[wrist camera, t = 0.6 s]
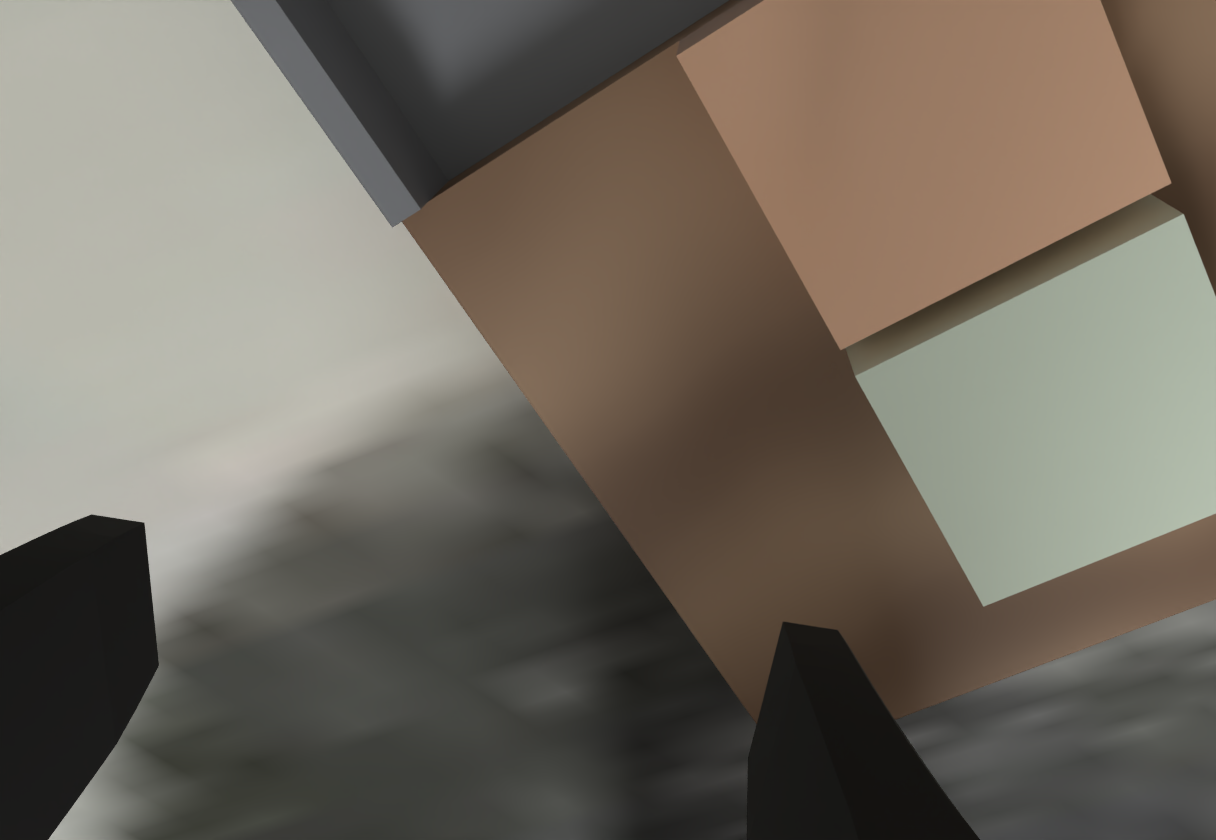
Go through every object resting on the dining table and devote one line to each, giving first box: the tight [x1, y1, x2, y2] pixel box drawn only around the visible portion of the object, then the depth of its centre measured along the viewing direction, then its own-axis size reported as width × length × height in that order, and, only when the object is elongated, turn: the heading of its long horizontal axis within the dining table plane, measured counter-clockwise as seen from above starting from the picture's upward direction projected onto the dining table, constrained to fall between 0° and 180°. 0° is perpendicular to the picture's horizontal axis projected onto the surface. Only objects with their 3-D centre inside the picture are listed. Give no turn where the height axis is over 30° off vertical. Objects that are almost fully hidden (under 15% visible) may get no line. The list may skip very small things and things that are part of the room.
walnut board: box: [402, 0, 1216, 724], centre depth 18 cm, size 14×16×2 cm
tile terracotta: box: [676, 0, 1171, 350], centre depth 15 cm, size 5×5×2 cm
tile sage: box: [846, 194, 1216, 607], centre depth 16 cm, size 5×5×2 cm
